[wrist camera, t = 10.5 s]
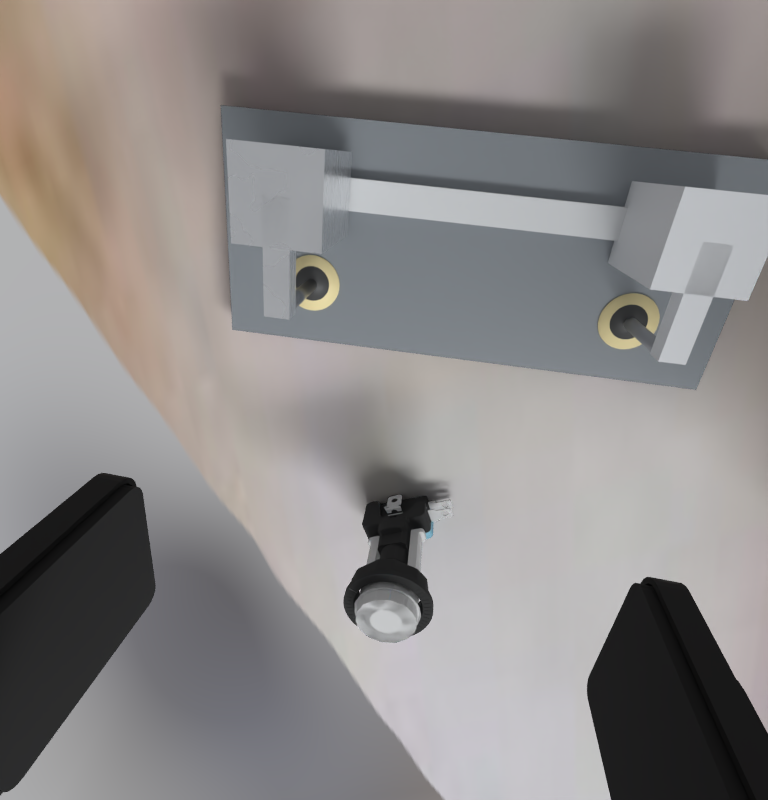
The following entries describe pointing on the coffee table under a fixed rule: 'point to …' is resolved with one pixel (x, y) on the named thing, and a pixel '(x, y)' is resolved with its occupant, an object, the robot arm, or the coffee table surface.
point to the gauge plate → (518, 248)
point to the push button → (394, 569)
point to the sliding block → (287, 211)
